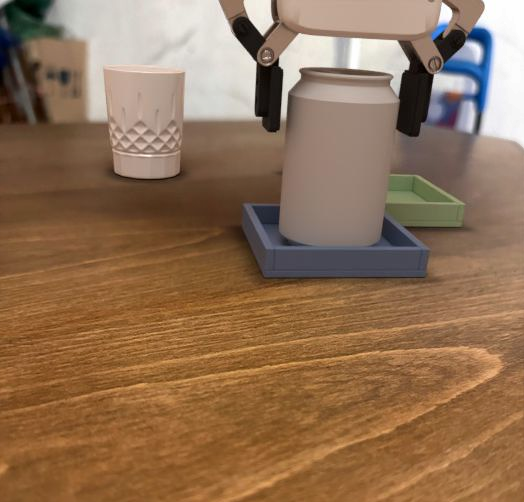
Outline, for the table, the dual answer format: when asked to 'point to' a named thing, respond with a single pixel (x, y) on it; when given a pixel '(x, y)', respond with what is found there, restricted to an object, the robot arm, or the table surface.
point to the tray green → (421, 203)
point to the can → (337, 157)
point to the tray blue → (331, 251)
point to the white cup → (145, 119)
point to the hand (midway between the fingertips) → (339, 131)
